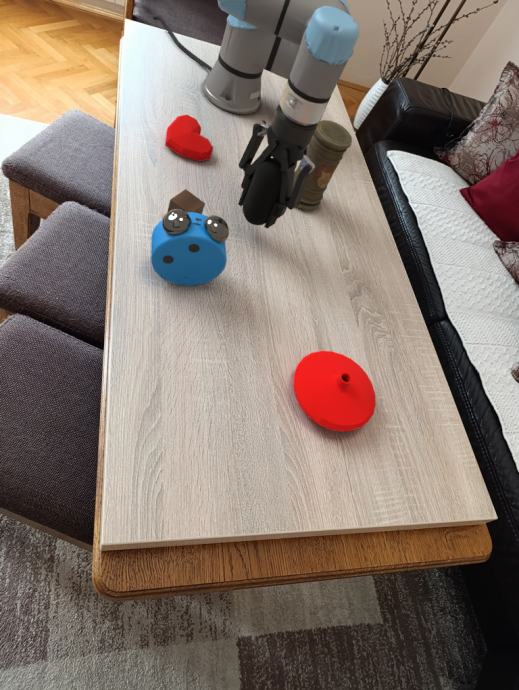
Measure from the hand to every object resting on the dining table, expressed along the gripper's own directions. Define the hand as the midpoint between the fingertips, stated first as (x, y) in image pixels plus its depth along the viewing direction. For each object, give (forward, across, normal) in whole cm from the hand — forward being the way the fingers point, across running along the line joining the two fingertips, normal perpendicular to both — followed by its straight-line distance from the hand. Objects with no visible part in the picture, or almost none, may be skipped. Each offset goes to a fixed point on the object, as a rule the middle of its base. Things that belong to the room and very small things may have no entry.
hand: (256, 213), depth 103 cm
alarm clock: (+6, 0, -20) cm, 21 cm away
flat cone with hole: (+6, +35, -19) cm, 40 cm away
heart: (+5, -27, +7) cm, 28 cm away
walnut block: (+5, -10, -10) cm, 15 cm away
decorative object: (+2, 0, 0) cm, 2 cm away
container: (+5, 0, +21) cm, 21 cm away
